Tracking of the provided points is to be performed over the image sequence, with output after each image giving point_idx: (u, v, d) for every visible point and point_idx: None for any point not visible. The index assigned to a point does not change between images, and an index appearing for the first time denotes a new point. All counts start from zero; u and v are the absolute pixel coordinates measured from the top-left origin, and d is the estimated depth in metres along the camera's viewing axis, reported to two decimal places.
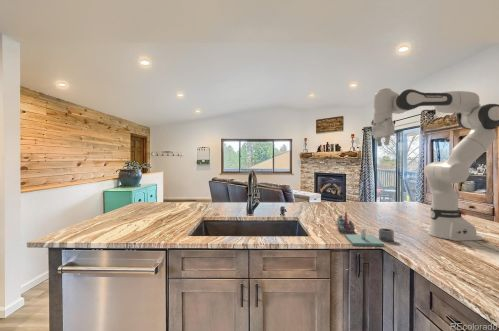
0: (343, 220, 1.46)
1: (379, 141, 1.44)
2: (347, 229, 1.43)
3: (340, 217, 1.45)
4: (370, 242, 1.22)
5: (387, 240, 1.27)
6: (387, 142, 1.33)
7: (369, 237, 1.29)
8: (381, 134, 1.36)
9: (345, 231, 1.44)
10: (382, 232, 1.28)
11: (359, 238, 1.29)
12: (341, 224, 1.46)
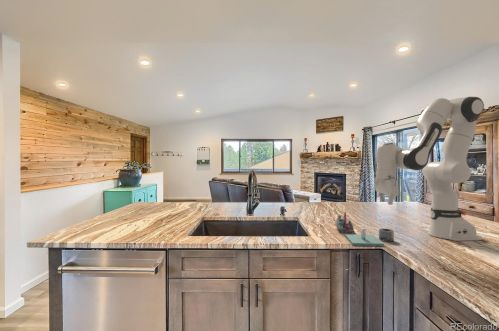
0: (342, 220, 1.46)
1: (382, 196, 1.35)
2: (346, 229, 1.43)
3: (339, 217, 1.45)
4: (370, 242, 1.22)
5: (387, 240, 1.27)
6: (391, 202, 1.24)
7: (369, 237, 1.29)
8: (384, 192, 1.27)
9: (344, 231, 1.44)
10: (382, 232, 1.28)
11: (359, 238, 1.29)
12: (340, 224, 1.46)
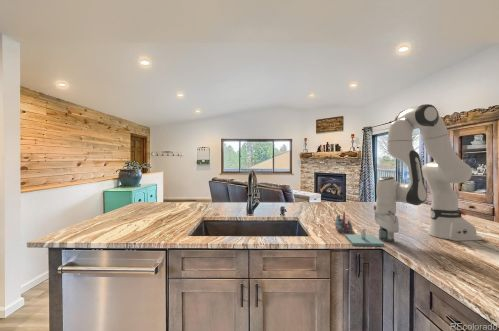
0: (341, 220, 1.47)
1: None
2: (345, 229, 1.43)
3: (338, 217, 1.46)
4: (370, 242, 1.22)
5: (387, 240, 1.27)
6: (390, 236, 1.25)
7: (369, 237, 1.29)
8: (384, 226, 1.27)
9: (343, 231, 1.44)
10: (382, 232, 1.28)
11: (359, 238, 1.29)
12: (339, 224, 1.46)
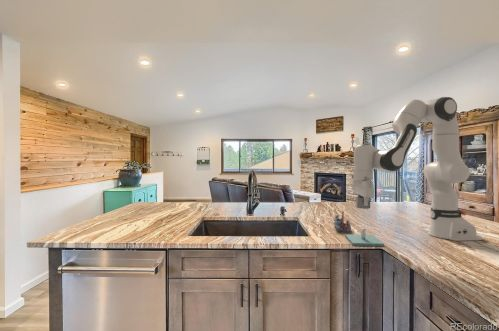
0: (340, 220, 1.47)
1: None
2: (343, 229, 1.44)
3: (336, 217, 1.46)
4: (370, 242, 1.22)
5: (363, 207, 1.25)
6: (366, 203, 1.23)
7: (369, 237, 1.29)
8: (361, 193, 1.25)
9: (341, 230, 1.45)
10: (358, 199, 1.26)
11: (359, 238, 1.29)
12: (337, 223, 1.47)
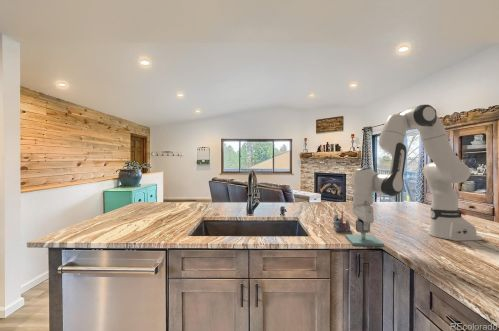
0: (339, 219, 1.47)
1: None
2: (342, 228, 1.44)
3: (336, 216, 1.47)
4: (370, 242, 1.22)
5: (363, 231, 1.25)
6: (366, 227, 1.24)
7: (369, 237, 1.29)
8: (360, 217, 1.25)
9: (340, 230, 1.45)
10: (358, 223, 1.27)
11: (359, 238, 1.29)
12: (336, 223, 1.47)
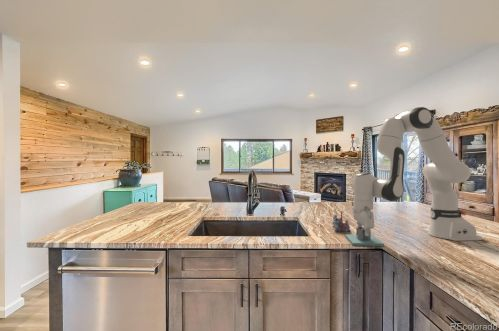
0: (338, 219, 1.48)
1: (360, 225, 1.33)
2: (341, 228, 1.45)
3: (335, 216, 1.47)
4: (370, 242, 1.22)
5: (364, 239, 1.25)
6: (367, 233, 1.23)
7: None
8: (361, 222, 1.25)
9: (340, 230, 1.45)
10: (359, 231, 1.27)
11: None
12: (336, 223, 1.48)
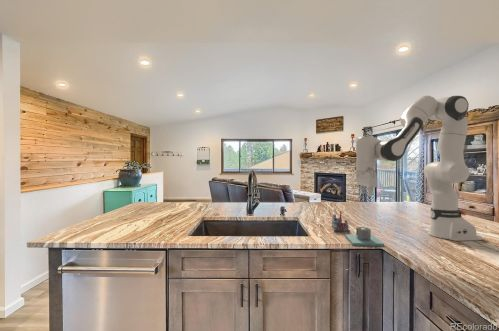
0: (337, 219, 1.48)
1: (363, 188, 1.36)
2: (340, 228, 1.45)
3: (334, 216, 1.48)
4: (370, 242, 1.22)
5: (364, 239, 1.25)
6: (370, 193, 1.26)
7: None
8: (364, 183, 1.28)
9: (338, 230, 1.46)
10: (359, 231, 1.27)
11: None
12: (334, 223, 1.48)
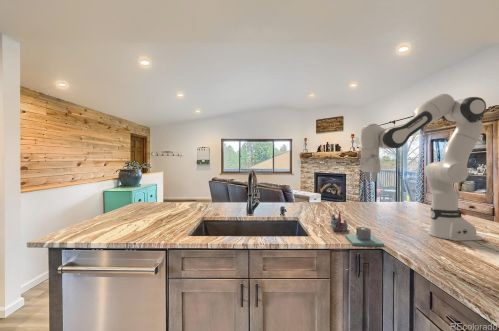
0: (336, 219, 1.49)
1: (367, 175, 1.43)
2: (339, 228, 1.45)
3: (333, 216, 1.48)
4: (370, 242, 1.22)
5: (364, 239, 1.25)
6: (374, 179, 1.32)
7: None
8: (368, 170, 1.35)
9: (337, 230, 1.46)
10: (359, 231, 1.27)
11: None
12: (333, 223, 1.49)
